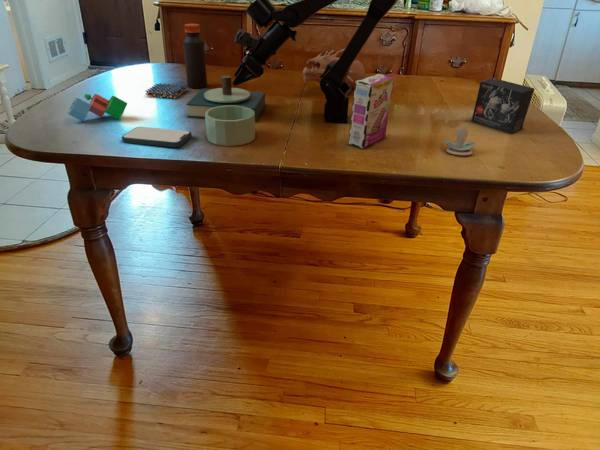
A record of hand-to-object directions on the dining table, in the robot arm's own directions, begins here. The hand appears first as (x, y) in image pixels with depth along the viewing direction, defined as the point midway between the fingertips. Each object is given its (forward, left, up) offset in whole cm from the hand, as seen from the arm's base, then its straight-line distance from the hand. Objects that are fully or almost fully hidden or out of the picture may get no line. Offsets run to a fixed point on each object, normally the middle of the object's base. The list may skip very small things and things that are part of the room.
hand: (234, 80), depth 133 cm
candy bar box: (-40, +17, -9) cm, 44 cm away
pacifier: (-63, +20, -9) cm, 67 cm away
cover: (+2, 0, -5) cm, 5 cm away
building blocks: (+35, +15, -9) cm, 40 cm away
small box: (-78, -3, -9) cm, 78 cm away
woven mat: (+26, -13, -9) cm, 31 cm away
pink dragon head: (-29, -27, -9) cm, 40 cm away
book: (+2, 0, -9) cm, 10 cm away
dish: (-4, +21, -9) cm, 23 cm away
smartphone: (+14, +26, -9) cm, 31 cm away
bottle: (+19, -24, -9) cm, 32 cm away
